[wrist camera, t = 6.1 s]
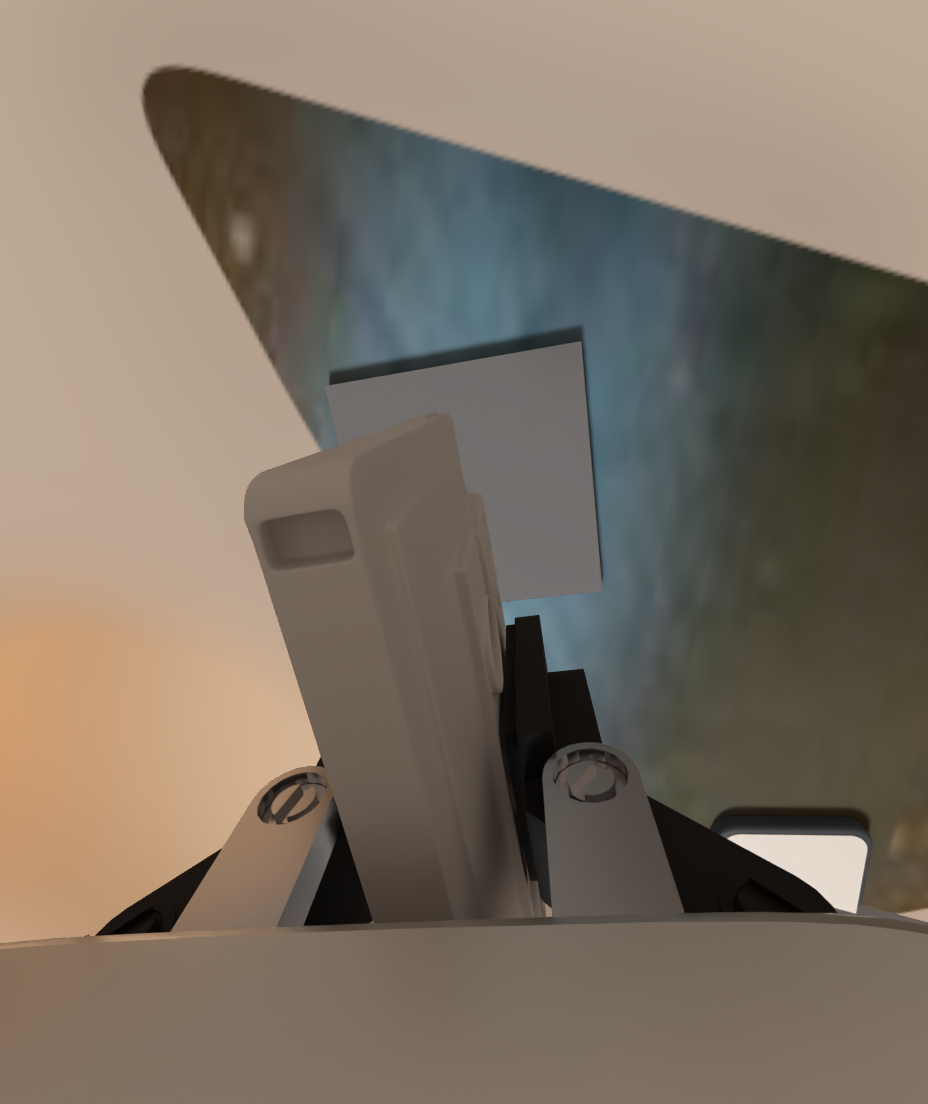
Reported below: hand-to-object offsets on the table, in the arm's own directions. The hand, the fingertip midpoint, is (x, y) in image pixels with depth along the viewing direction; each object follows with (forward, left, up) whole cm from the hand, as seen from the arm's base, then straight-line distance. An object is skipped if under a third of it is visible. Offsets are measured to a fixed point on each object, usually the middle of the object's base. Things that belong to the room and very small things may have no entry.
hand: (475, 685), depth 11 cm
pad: (+1, -1, -15) cm, 16 cm away
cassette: (0, 0, -2) cm, 2 cm away
